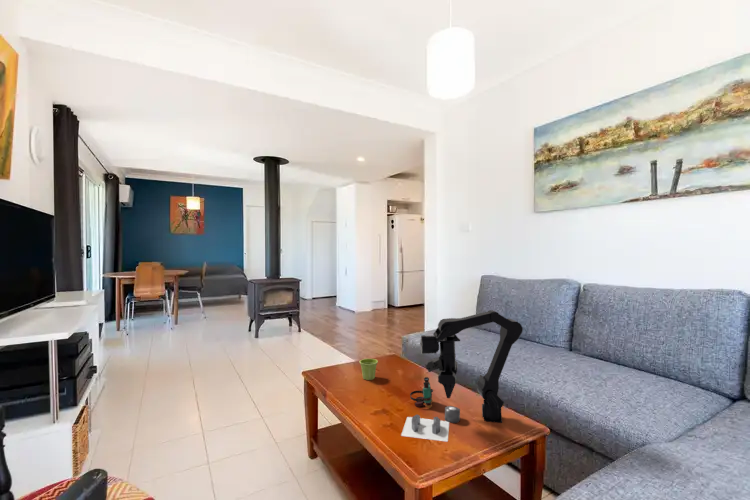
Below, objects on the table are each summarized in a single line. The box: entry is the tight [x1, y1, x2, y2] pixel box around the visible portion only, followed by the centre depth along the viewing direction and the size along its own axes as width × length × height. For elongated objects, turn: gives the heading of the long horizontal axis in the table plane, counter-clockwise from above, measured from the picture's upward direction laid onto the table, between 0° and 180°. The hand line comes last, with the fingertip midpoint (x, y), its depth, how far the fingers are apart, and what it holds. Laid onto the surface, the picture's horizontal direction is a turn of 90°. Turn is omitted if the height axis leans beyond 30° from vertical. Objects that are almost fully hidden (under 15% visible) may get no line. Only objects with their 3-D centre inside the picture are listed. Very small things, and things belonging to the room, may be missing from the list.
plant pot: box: [359, 358, 379, 381], centre depth 174 cm, size 9×9×9 cm
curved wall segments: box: [411, 414, 441, 435], centre depth 123 cm, size 10×7×3 cm
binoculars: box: [409, 376, 434, 409], centre depth 143 cm, size 9×11×10 cm
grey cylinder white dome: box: [444, 405, 461, 424], centre depth 129 cm, size 6×6×4 cm
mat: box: [400, 416, 450, 443], centre depth 123 cm, size 16×14×1 cm
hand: (449, 393), depth 130 cm, fingers open, 9 cm apart
